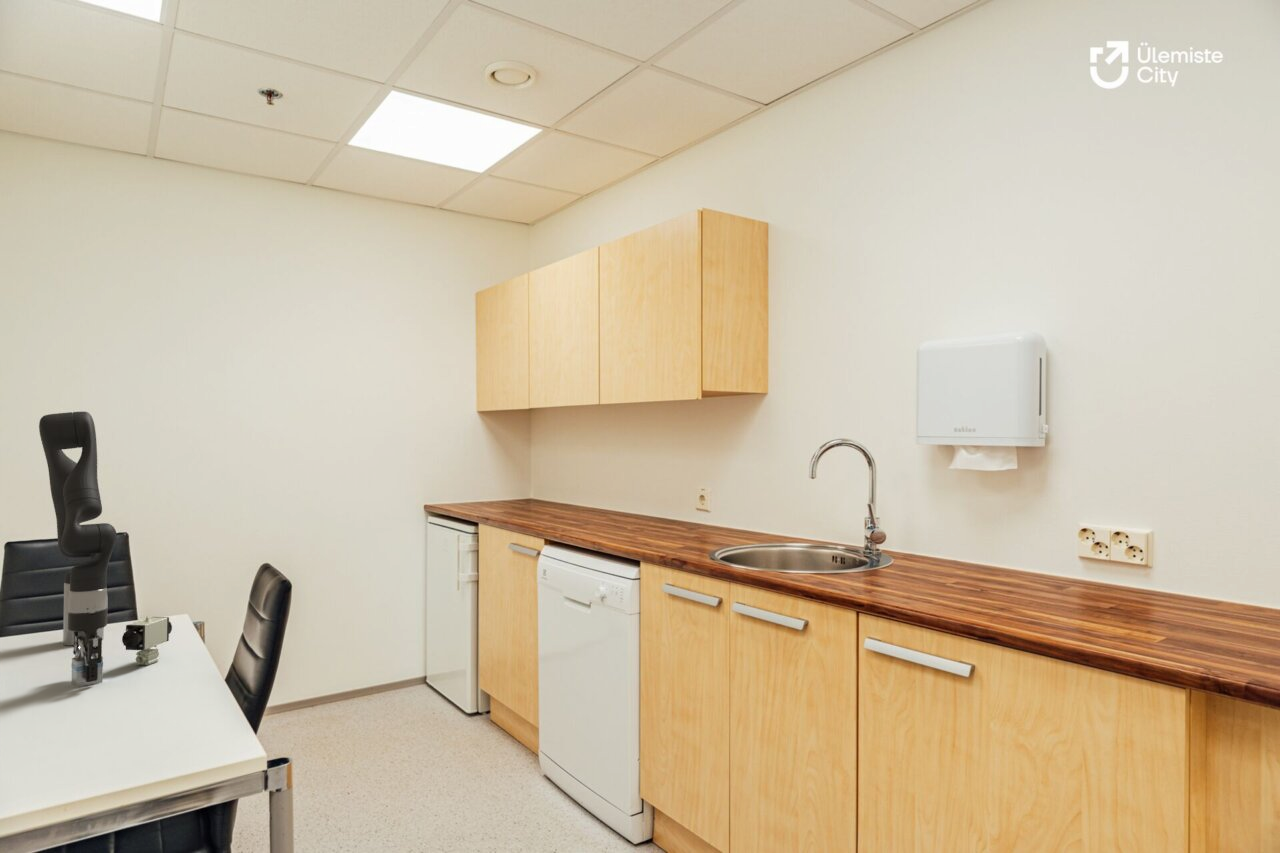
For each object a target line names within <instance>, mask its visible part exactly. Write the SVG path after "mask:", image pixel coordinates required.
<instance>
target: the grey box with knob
mask: <svg viewBox="0 0 1280 853" xmlns="http://www.w3.org/2000/svg"><path fill="white" fill-rule="evenodd" d="M91 659H95V656H91ZM103 660H104V657H103V656H102V661H101V663H99V664H98V679H97V680H96V681H92V682H86V681H85V670H86V665H85V658H83V657H82V656H81V657H75V656H74V657H71V685H73V687H75V688H76V689H77V688H81V687H86V686H90V685H95V684H100V683H103V672H104V669H103V667H104V661H103Z"/></svg>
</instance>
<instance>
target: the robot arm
mask: <svg viewBox="0 0 1280 853" xmlns="http://www.w3.org/2000/svg"><path fill="white" fill-rule="evenodd" d="M38 429H39V430H38V431H39V436H40V440H41V445H42V449H43V451H44V452H43V453H44V455H45V460H46V463H47V464H46V465H47V470H48V477H49V486H50V493H51V494H50V495H51V499H52V503H53V508H54V512H55V517H56V518H55V519H56V520H55V521H56V531H57V532H56V533H57V534H56V536H57V545H58V546H57V548H58V552H59V553H60V555H61V557H63V558H66V559H78V558H79V559H82V558H90V561H87V562H84V563H83V562H82V563H81V564H77V565H74V566H73V567H71V569H70V570H69V571H67V572H65V573H64V578H63V580H64V583H63V624H62V625H63V631H62V632H63V634H62V643H63V645H65V646H73V651H72V654H73V655H75V656H74V658H75V657H81V656H82V657H83V658H85V665H86V670H85V681H86V682H92V681H96V680H97V679H98V664H99V663H101V661H102V657H103V656H102V655H103V654H102V652H103V651H102V647H103V640H104V630H105V627H106V626H107V625H108V610H109V609H108V606H109V605H108V604H109V603H108V601H109V600H108V596H109V595H108V589H107V585H108V584H107V582H108V578H107V577H108V576H107V575H108V568H109V563H110V559H111V558H112V557H111V556H112V554H113V551H114V549H115V545H116V542H117V536H118V534H117V531H116V529H115V527H114V526H113V525H112V524H110V523H107V522H106V523H105V522H101V523H87V524H82V523H85V522H88V521H92V520H95V519H97V518H99V517H100V516H101V514H102V512H103V505H102V499H101V495H100V494H101V493H100V488H99V481H98V448H97V433H96V426H95V421H94V419H93V416H92V415H91V413H90V412H88V411H73V412H59V413H49V414H45V415H42V416H41V418H40V419H39V423H38ZM80 448H81V454H80V457H79V459H78V461H77V462H76V461H75V460H72V459H71V457H69V456H67V455H66V453H65V452H64V451H63V450H70V449H71V450H72V449H80ZM91 656H95V659H91Z"/></svg>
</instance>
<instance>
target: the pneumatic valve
mask: <svg viewBox="0 0 1280 853" xmlns="http://www.w3.org/2000/svg"><path fill="white" fill-rule="evenodd" d="M172 630H173V625H172V623H171V622H170V617H169V616H168V617H167V616H166V617H165V616H152V617H151V616H146V617H145V619H142V620H137V621H134V622H132V623H129V624H125V632H123V634H122V638H121V642H122V645H123V646H124V647H125V650H126V651H137V652H136V653H135V655H136V657H135V665H137V666H140V665H145V666H149V665H153V664H154V663H157V662H159V658H158V657H159V655H160V652H159V649H158V648H156V647H157V646H158V645H160V644H163V643H167V642H169V641H170V640H169V639H170V638H169V637H170V634H171V632H172Z"/></svg>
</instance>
